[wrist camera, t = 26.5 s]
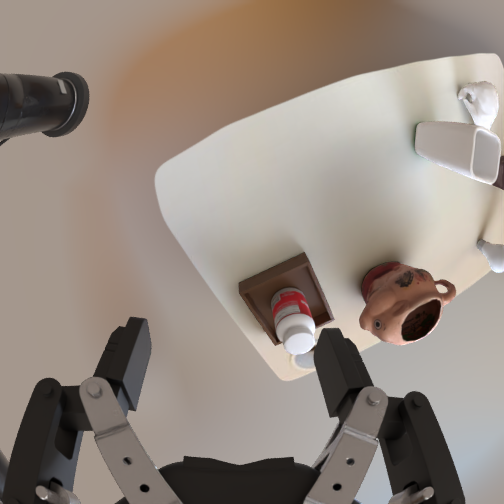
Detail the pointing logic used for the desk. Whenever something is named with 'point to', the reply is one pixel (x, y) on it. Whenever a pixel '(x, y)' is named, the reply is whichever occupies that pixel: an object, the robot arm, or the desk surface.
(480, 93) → the white lumpy curved piece
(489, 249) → the lightbulb
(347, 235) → the desk surface
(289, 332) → the pill bottle
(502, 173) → the box
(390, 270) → the pink face mug
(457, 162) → the cup
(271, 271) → the tray
